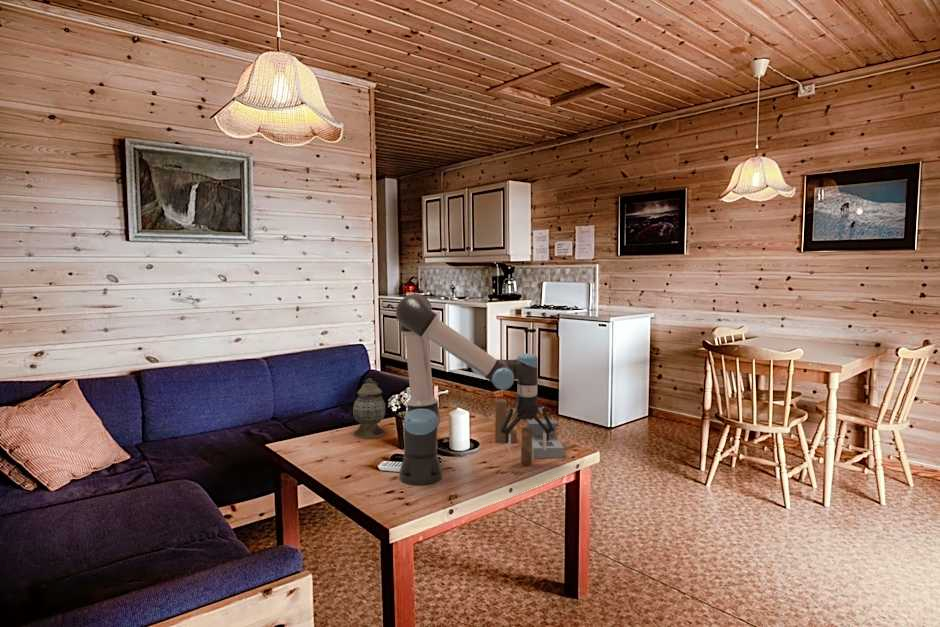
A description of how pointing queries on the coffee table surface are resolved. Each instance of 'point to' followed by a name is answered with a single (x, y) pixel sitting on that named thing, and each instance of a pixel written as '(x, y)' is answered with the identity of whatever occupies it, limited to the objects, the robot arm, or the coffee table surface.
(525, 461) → the dowel
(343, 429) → the coffee table surface
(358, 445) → the coffee table surface
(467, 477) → the coffee table surface
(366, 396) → the lantern
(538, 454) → the socket block
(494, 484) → the coffee table surface
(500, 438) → the wooden block
